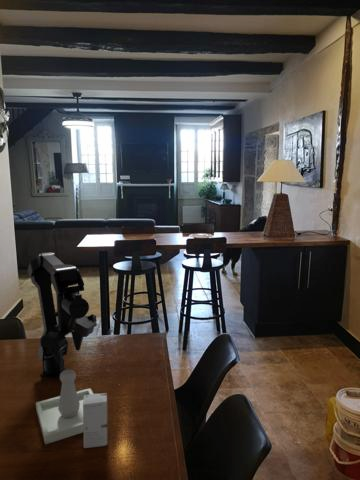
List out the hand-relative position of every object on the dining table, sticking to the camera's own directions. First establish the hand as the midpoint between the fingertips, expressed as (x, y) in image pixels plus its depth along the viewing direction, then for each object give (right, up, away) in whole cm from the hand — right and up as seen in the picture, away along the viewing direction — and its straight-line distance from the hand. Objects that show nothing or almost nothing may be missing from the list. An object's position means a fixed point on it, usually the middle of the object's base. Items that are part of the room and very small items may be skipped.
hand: (69, 356), depth 112 cm
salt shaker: (+3, -14, -8) cm, 16 cm away
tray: (+3, -15, -8) cm, 17 cm away
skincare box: (+12, -16, -17) cm, 27 cm away
